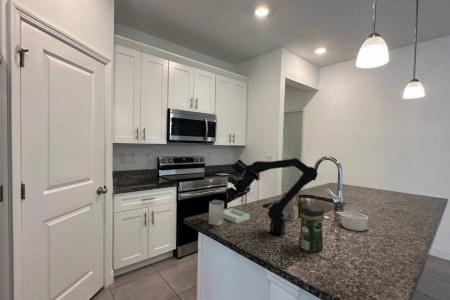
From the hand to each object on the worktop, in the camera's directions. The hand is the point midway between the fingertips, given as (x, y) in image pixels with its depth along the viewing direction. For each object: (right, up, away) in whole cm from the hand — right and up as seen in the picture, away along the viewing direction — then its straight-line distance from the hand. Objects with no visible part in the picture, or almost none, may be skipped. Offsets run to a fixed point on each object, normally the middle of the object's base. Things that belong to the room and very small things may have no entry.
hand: (230, 201), depth 117 cm
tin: (-8, -13, +2) cm, 15 cm away
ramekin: (+69, -15, +1) cm, 70 cm away
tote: (+3, -13, +11) cm, 17 cm away
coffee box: (+37, -14, +13) cm, 42 cm away
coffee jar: (+34, -14, -25) cm, 45 cm away
